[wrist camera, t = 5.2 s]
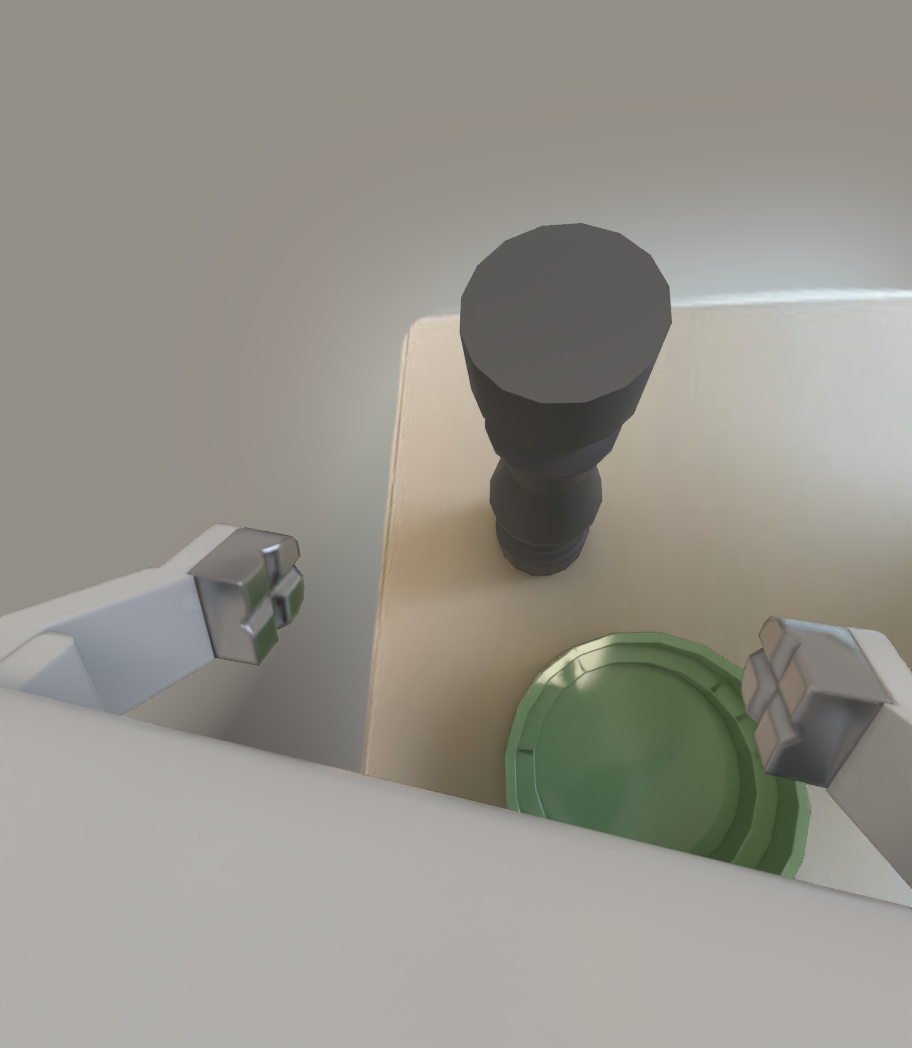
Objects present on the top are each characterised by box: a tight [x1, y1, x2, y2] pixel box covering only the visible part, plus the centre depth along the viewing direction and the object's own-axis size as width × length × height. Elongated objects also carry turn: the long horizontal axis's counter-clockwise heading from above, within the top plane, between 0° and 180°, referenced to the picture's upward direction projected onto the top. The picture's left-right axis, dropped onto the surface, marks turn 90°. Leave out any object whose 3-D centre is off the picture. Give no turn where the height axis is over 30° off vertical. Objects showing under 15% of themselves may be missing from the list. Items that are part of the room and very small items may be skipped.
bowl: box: [505, 632, 811, 879], centre depth 31 cm, size 16×16×6 cm
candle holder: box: [460, 223, 672, 575], centre depth 26 cm, size 6×6×25 cm
